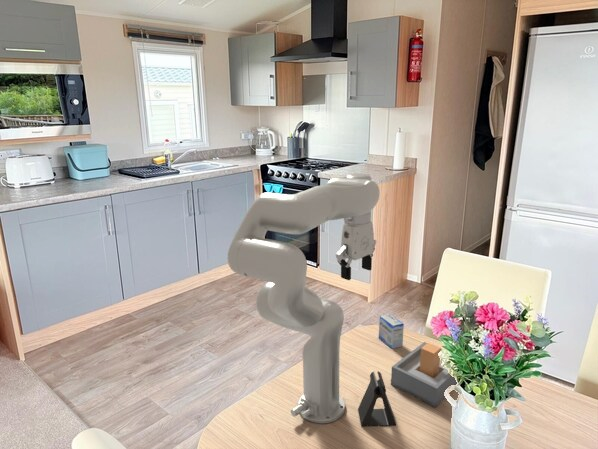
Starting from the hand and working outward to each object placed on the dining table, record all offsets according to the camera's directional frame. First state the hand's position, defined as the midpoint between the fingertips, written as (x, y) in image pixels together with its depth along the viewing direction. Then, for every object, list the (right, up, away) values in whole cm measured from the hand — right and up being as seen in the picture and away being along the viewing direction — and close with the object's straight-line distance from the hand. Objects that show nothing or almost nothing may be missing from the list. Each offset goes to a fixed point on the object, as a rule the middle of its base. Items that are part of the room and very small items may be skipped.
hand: (356, 273), depth 127 cm
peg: (+21, -30, -1) cm, 37 cm away
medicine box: (+14, -26, +20) cm, 36 cm away
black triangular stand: (+3, -36, -14) cm, 39 cm away
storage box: (+21, -31, -1) cm, 38 cm away
